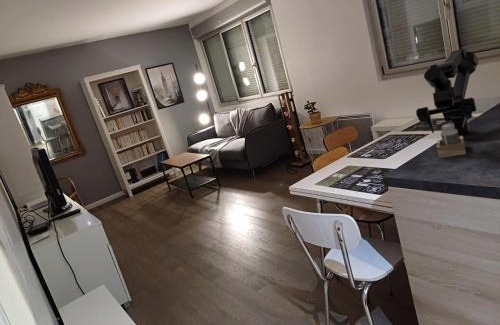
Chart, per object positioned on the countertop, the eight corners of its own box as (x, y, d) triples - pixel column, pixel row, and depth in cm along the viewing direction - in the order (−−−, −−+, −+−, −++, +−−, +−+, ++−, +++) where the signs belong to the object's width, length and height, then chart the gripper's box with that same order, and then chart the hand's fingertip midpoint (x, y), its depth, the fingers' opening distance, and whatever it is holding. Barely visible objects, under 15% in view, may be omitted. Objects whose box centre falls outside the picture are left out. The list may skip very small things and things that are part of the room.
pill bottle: (464, 147, 129) (459, 121, 126) (456, 153, 126) (451, 127, 124) (449, 147, 133) (444, 122, 131) (441, 153, 131) (436, 127, 129)
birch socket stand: (438, 150, 136) (436, 140, 135) (464, 145, 131) (462, 135, 130) (438, 157, 129) (436, 147, 128) (466, 153, 124) (464, 143, 123)
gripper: (411, 88, 133) (413, 125, 127) (469, 74, 122) (474, 113, 116) (418, 103, 141) (421, 138, 135) (473, 91, 130) (479, 129, 124)
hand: (447, 130), depth 127 cm, fingers open, 9 cm apart
